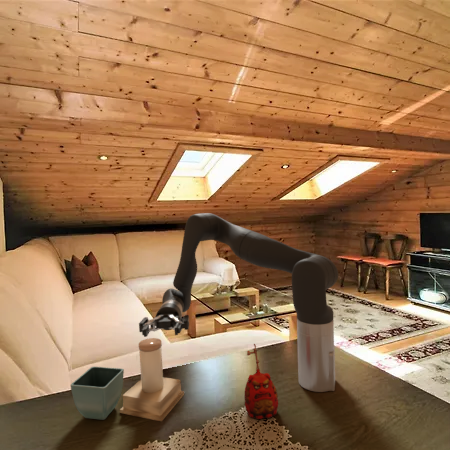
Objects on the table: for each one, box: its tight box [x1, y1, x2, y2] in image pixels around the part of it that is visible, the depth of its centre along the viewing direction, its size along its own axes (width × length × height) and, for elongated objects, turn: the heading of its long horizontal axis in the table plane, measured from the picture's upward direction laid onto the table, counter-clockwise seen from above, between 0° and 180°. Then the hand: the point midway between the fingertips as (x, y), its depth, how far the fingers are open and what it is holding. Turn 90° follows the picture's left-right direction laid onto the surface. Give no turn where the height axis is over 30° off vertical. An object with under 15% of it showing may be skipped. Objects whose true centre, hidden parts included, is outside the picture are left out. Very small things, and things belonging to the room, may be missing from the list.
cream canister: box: [138, 337, 164, 393], centre depth 82 cm, size 5×5×11 cm
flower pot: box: [70, 366, 125, 421], centre depth 79 cm, size 9×9×9 cm
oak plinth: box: [119, 376, 185, 422], centre depth 82 cm, size 11×11×4 cm
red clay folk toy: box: [244, 343, 279, 420], centre depth 77 cm, size 8×7×15 cm
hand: (160, 332), depth 93 cm, fingers open, 8 cm apart
